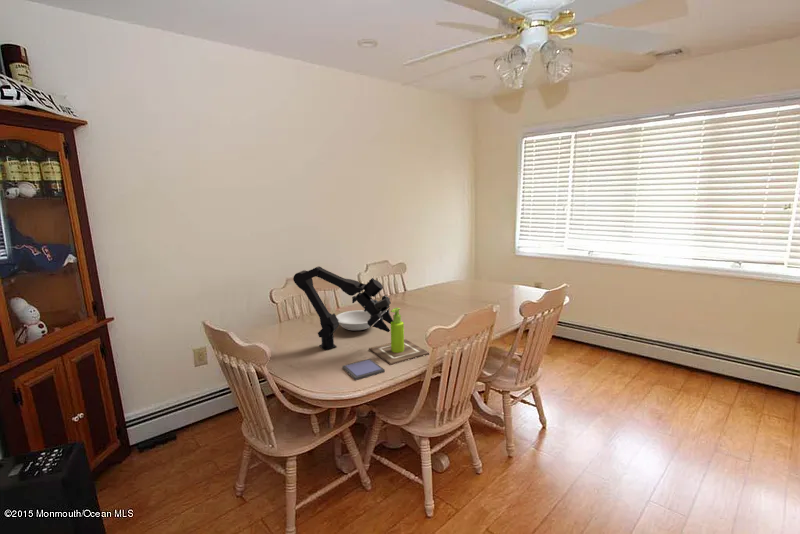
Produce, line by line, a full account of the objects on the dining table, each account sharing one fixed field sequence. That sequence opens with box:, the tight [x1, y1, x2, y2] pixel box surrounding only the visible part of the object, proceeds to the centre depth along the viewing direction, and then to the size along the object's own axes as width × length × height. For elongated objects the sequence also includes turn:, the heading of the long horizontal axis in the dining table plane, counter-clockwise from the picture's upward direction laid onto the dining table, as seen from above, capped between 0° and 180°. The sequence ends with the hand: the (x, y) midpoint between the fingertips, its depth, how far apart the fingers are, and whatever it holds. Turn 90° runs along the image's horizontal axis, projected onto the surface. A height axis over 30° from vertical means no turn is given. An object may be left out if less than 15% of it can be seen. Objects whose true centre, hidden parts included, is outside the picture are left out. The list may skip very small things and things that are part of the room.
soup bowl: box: [335, 309, 371, 331], centre depth 213 cm, size 24×24×7 cm
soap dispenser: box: [390, 307, 405, 353], centre depth 179 cm, size 6×7×20 cm
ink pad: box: [341, 358, 386, 381], centre depth 163 cm, size 13×13×1 cm
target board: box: [368, 338, 430, 365], centre depth 181 cm, size 20×20×1 cm
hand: (391, 327), depth 180 cm, fingers open, 9 cm apart
